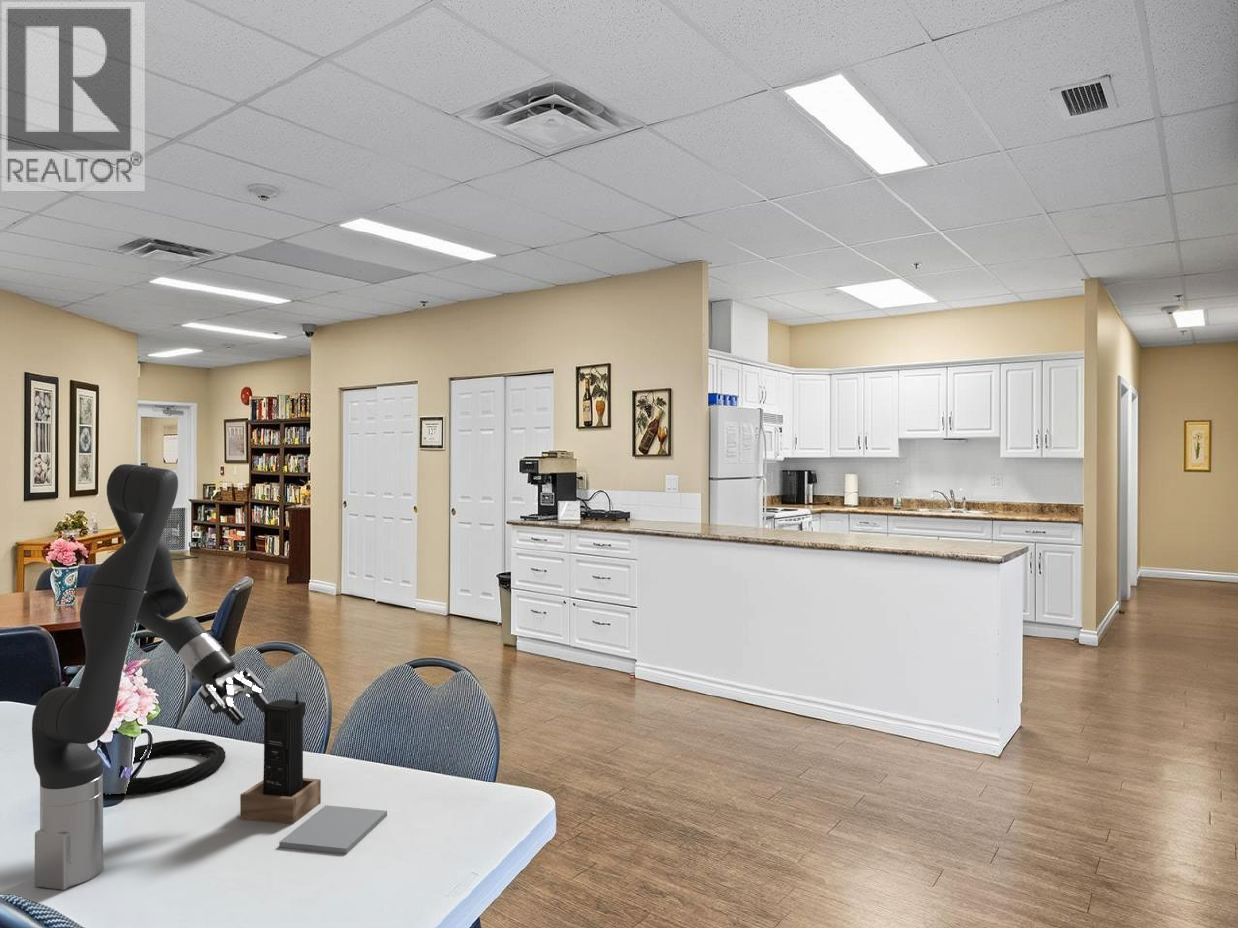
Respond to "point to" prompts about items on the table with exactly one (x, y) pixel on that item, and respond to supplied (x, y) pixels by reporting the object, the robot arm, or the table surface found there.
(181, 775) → the cable lock
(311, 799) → the walnut collar
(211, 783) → the table surface
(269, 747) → the portable radio
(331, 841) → the slate mat
